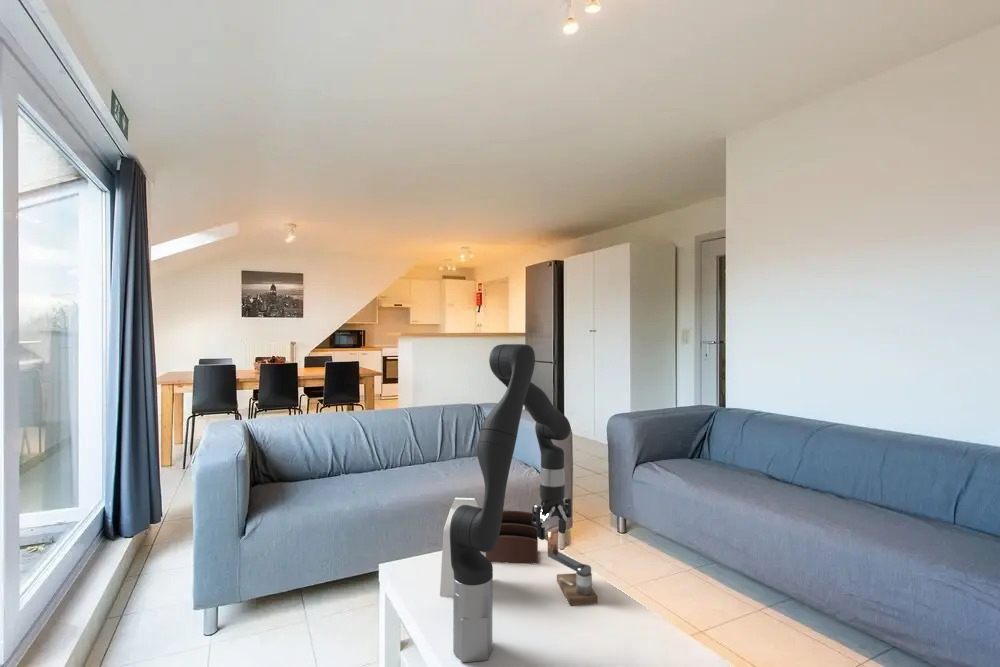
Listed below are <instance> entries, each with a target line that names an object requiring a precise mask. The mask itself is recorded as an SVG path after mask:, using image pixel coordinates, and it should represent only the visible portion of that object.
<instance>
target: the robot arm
mask: <svg viewBox="0 0 1000 667" xmlns="http://www.w3.org/2000/svg"><path fill="white" fill-rule="evenodd" d="M488 358H489V359H488V360H489V362H488V363H489V367H490V370H491V372H492V373H493V375H494V376H495V377H496V378H497V379H498V380H499V381H500V382H501V383H502V384H503V385H504V386H505V387H506V388H507V389H506V391H505V393H504V394H503V397H502V398H501V399H500V400H499V402H498V403H497V404H496V405H495V406H494V407H493V408H492V410H491V411H490V412H489V413H488V414H487V416H486V417H485V419H484V420H483V422H482V425H481V427H480V431H479V432H480V433H479V436H478V441H477V445H476V456H477V459H478V463H479V467H480V471H481V474H482V478H483V482H484V497H483V503H482V507H479V506H478V507H474V506H469V505H462V506H460V507H458V508H457V509H456V510H455V512H454V514H453V516H452V519H451V524H450V552H451V566H452V569H453V571H454V597H453V609H452V610H453V612H452V613H453V617H452V618H453V620H452V621H453V626H452V628H453V629H452V633H453V634H452V635H453V636H452V638H453V640H452V641H453V642H452V643H453V648H452V650H453V653H454V655H455V656H456V657H457V658H458V659H459V660H460V662H461V663H468V662H469V663H470V662H482V661H488V660H489V656H490V655H491V654H492V652H493V607H494V606H493V604H494V603H493V595H494V594H493V589H494V588H493V586H494V585H493V579H494V578H493V576H494V575H493V574H494V572H493V571H494V568H493V562H490V561H489V560H488V559H487V558H486V557H485V556H484V555H483V554H482V553H481V552H490V551H491V550H492V549H493V548H494V547H495V545H496V543H497V541H498V537H499V534H500V529H501V523H502V515H503V511H504V507H505V506H504V505H505V499H506V491H507V485H508V484H507V483H508V478H509V475H510V469H511V464H512V460H513V456H514V452H515V447H516V442H517V438H518V433H519V427H520V422H521V417H522V412H523V409H524V407H525V408H526V410H527V411H528V413H529V415H530V417H531V418H532V419H533V421H534V422H535V426H534V427H535V428H534V429H535V434H536V435H535V436H536V439H537V443H538V447H539V448H538V449H539V452H540V469H539V470H540V471H539V498H540V500H541V502H540V504H536V503H534V504H532V507H531V508H532V509H531V510H532V512H531V513H532V524H533V525H535V526H537V536H538V540H540V541H545V539H546V536H545V534H546V527H545V526H546V524H547V523H548V522H549V521H550V518H554V517H557V518H558V533H560V534H565V533H566V531H567V521H568V519H570V518H571V517H572V499H571V498H569V497H566V495H565V493H566V492H565V489H566V486H565V484H566V475H565V473H566V472H565V452H564V449H563V448H561V447H560V446H557V445H556V444H554V443H553V441H564V440H566V439H568V437H569V436H570V434H571V430H572V429H571V423H570V421H569V420H568V417H566V415H564V414H563V413H562V412H561V411H560V410H559V409H558V408H556V407H555V406H554V405H553V403H552V401H551V400H550V398H549V397H548V395H547V394H546V392H544V390H542V389H541V388H540V387H539V386H537V385H536V384H534V383H533V382H532V381H531V380H532V379H533V375H534V370H535V364H536V354H535V351H534V348H533V347H532V346H531V345H529V344H525V343H524V344H523V343H518V344H517V343H511V344H509V343H505V344H504V343H503V344H502V343H501V344H497V345H496V346H493V347H492V349H491V352H489V357H488ZM552 440H553V441H552ZM480 551H481V552H480Z"/></svg>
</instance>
